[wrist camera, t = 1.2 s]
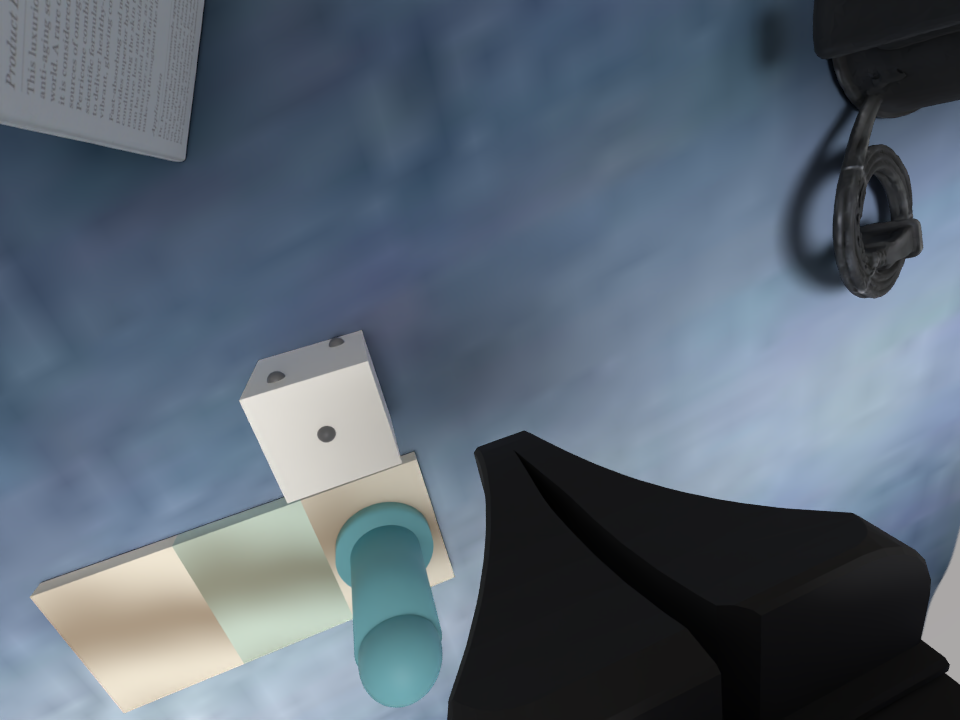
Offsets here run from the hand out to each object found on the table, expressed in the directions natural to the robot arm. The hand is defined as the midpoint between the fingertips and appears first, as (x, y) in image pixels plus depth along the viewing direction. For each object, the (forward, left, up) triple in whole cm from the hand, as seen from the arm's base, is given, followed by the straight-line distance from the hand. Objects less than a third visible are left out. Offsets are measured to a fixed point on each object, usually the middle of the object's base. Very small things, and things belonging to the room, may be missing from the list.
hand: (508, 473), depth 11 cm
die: (0, +4, -9) cm, 10 cm away
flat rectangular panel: (-8, +9, -9) cm, 15 cm away
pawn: (-8, +4, -9) cm, 12 cm away
